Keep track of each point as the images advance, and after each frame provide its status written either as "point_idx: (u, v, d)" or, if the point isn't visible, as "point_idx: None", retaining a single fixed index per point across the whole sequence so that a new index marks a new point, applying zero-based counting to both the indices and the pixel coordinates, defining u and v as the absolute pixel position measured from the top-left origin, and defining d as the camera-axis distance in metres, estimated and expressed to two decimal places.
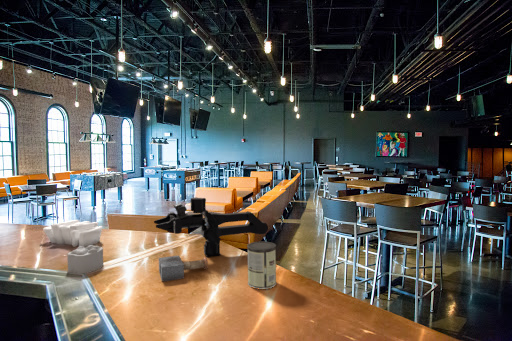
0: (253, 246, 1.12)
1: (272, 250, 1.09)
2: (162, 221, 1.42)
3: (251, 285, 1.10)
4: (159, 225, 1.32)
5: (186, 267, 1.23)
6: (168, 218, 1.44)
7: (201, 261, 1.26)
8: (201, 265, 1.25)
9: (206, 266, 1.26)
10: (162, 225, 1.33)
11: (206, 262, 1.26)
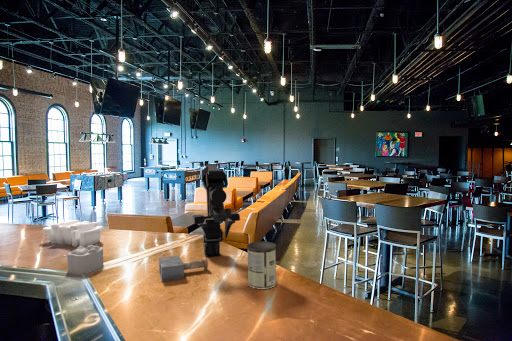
0: (253, 246, 1.12)
1: (272, 250, 1.09)
2: None
3: (251, 285, 1.10)
4: None
5: (186, 267, 1.23)
6: None
7: (201, 261, 1.26)
8: (201, 265, 1.25)
9: (206, 266, 1.26)
10: None
11: (206, 262, 1.26)
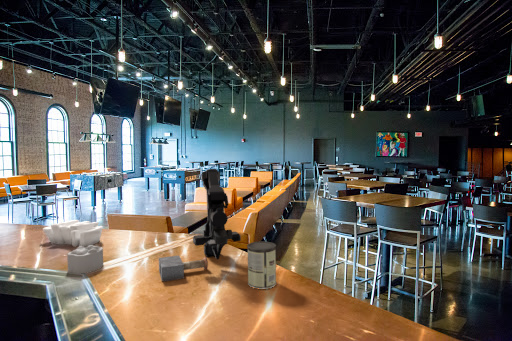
0: (253, 246, 1.12)
1: (272, 250, 1.09)
2: None
3: (251, 285, 1.10)
4: None
5: (186, 267, 1.23)
6: None
7: (201, 261, 1.26)
8: (201, 265, 1.25)
9: (206, 266, 1.26)
10: None
11: (206, 262, 1.26)
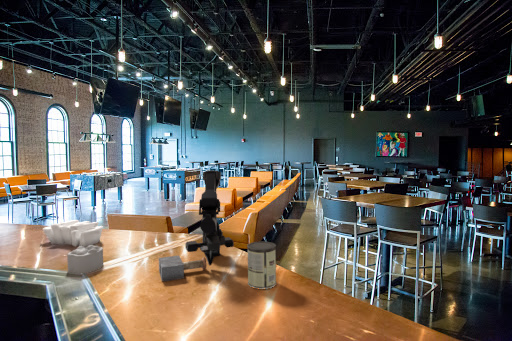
0: (253, 246, 1.12)
1: (272, 250, 1.09)
2: None
3: (251, 285, 1.10)
4: None
5: (185, 267, 1.23)
6: None
7: (200, 261, 1.26)
8: (200, 265, 1.25)
9: (205, 266, 1.25)
10: None
11: (205, 262, 1.25)
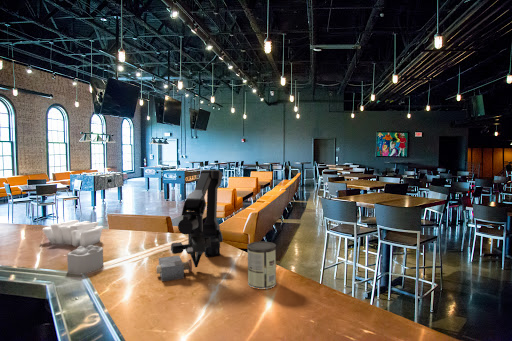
0: (253, 246, 1.12)
1: (272, 250, 1.09)
2: None
3: (251, 285, 1.10)
4: None
5: None
6: None
7: (185, 263, 1.24)
8: (185, 267, 1.23)
9: (190, 268, 1.23)
10: None
11: (190, 264, 1.23)
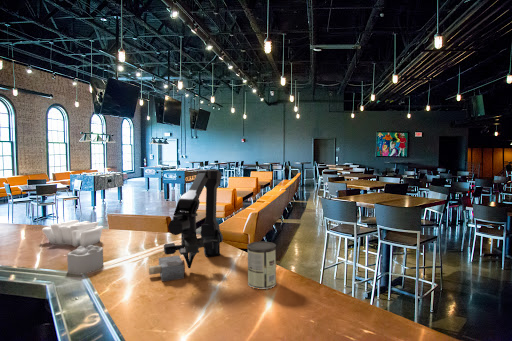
0: (253, 246, 1.12)
1: (272, 250, 1.09)
2: None
3: (251, 285, 1.10)
4: None
5: None
6: None
7: None
8: None
9: None
10: None
11: None
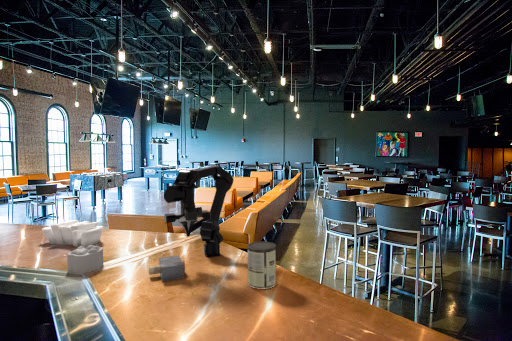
0: (253, 246, 1.12)
1: (272, 250, 1.09)
2: None
3: (251, 285, 1.10)
4: None
5: None
6: None
7: None
8: None
9: None
10: None
11: None
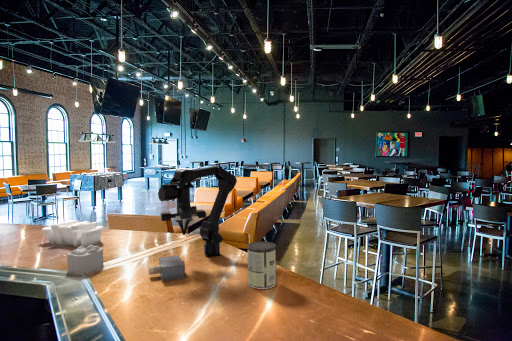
0: (253, 246, 1.12)
1: (272, 250, 1.09)
2: (182, 226, 1.36)
3: (251, 285, 1.10)
4: (185, 231, 1.36)
5: None
6: None
7: None
8: None
9: None
10: None
11: None
